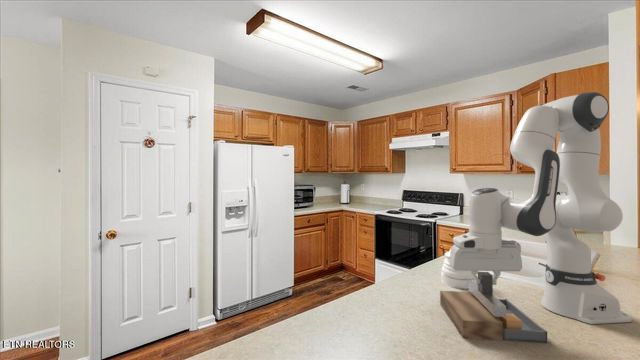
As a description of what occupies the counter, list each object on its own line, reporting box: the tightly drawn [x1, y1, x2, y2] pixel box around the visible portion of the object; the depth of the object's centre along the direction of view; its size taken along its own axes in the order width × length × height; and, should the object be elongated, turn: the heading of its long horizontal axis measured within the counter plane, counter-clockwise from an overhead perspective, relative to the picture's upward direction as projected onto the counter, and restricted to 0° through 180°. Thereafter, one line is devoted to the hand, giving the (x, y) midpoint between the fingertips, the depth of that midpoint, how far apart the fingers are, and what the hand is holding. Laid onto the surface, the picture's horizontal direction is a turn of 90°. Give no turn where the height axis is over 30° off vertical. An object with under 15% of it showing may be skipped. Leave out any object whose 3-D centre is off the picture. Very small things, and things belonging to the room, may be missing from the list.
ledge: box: [439, 290, 504, 341], centre depth 88 cm, size 10×20×5 cm, turn 174°
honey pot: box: [441, 248, 474, 290], centre depth 118 cm, size 13×13×18 cm
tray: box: [497, 298, 548, 344], centre depth 86 cm, size 12×20×3 cm, turn 174°
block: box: [499, 314, 522, 330], centre depth 81 cm, size 4×4×4 cm
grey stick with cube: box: [467, 271, 506, 317], centre depth 87 cm, size 3×18×9 cm, turn 173°
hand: (485, 284), depth 87 cm, fingers closed on grey stick with cube, 3 cm apart
